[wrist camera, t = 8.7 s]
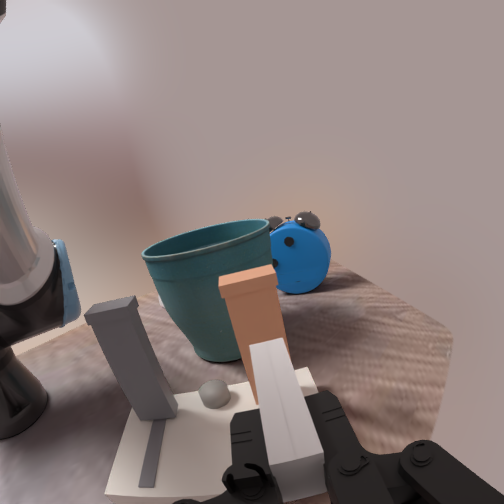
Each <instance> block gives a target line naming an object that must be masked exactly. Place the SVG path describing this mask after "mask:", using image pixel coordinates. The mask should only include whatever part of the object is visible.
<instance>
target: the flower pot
mask: <svg viewBox="0 0 504 504" xmlns="http://www.w3.org/2000/svg"><path fill="white" fill-rule="evenodd" d="M269 228H270V223H269V221H268V220H265V219H247V220H238V221H232V222H227V223H221V224H216V225H212V226H208V227H204V228H200V229H196V230H192V231H189V232H186V233H182V234H179V235H176V236H173V237H171V238H168V239H165V240H163V241H160V242H158V243H156V244H154V245H152V246H150V247H148V248H146V249H145V250H144V251H143V252H142V254H141V255H142V258H143V260H145V262H146V265H147V267H148V270H149V273H150V275H151V277H152V279H153V281H154V284H155V286H156V289H157V291H158V294H159V296H160V298H161V301H162V303H163V305H164V307H165V309H166V310H167V312H168V313H169V315H170V317H171V318H172V320H173V321H174V322H175V324H176V325H177V326H178V327H179V328H180V330H181V331H182V332H183V333H184V334H185V336H186V337H187V338H188V339H189V341H190V342H191V343H192V345H193V347H194V350H195V352H196V354H197V355H198V356H200V357H201V358H203V359H205V360H208V361H214V362H226V361H233V360H237V359H241V358H242V357H241V353H240V350H239V347H238V343H237V340H236V336H235V333H234V330H233V326H232V323H231V319H230V315H229V312H228V308H227V305H226V301H225V298H221V294H220V290H219V287H218V285H219V276H224V275H228V274H232V273H236V272H241V271H245V270H249V269H253V268H257V267H261V266H266V265H270V264H271V265H272V266H273V260H272V252H271V240H270V233H269Z"/></svg>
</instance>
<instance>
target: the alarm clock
mask: <svg viewBox="0 0 504 504" xmlns="http://www.w3.org/2000/svg"><path fill="white" fill-rule="evenodd" d="M286 219H291V217H286ZM265 220H268V221H269V223H270V228H269V232H271V231H272V230H274V231H273V232H271V233H270V240H271V252H272V260H273V268H274V270H275V272H276V275H277V280H278V285H277V286H276V288H277V289H279V290H281V291H284V292H287V293H293V294H299V293H305V292H308V291H311V290H313V289H314V288H316V287H317V286H318V285H319V284H320V283H321V282H322V281H323V280H324V278H325V277H326V274H327V272H328V268H329V263H330V258H331V249H330V244H329V242H328V239H327V237H326V236H325V234H324V233H323V232H322V231H321V230H320V229H319V228H320V220H319V219H318V217H317V216H316V215H315V214H313V213H311V211H310V212H300V213H299V214H297V215H296V216H295V219H294V221H288V222H285V223H283V224H281V225H279V224H280V223H282V222H283V220H282V219H281V218H280V217H276V216H274V217H270V218H268V219H265ZM278 225H279V226H278ZM277 226H278V227H277ZM275 227H277V228H276V229H274V228H275Z"/></svg>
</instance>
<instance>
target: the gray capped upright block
mask: <svg viewBox="0 0 504 504" xmlns="http://www.w3.org/2000/svg"><path fill="white" fill-rule="evenodd" d="M138 306H139V305H138V302H137V299H136V296H135V295H134V296H130V297H125V298H121V299H116V300H112V301H107V302H103V303H98V304H94V305H93V306H92V307H91V308H90V309H89V310H88V311H87V312H86V313H85V314H84V317H85V319H86V322H87V324H88V325H91V326H92V328H93V331H94V333H95V335H96V337H97V340H98V342H99V344H100V346H101V348H102V351H103V353H104V355H105V357H106V359H107V361H108V363H109V365H110V367H111V369H112V371H113V373H114V375H115V377H116V379H117V381H118V383H119V384H120V386H121V388H122V390H123V392H124V394H125V395H126V397H127V399H128V401H129V402H130V404H131V406H132V408H133V409H134V411H135V413H136V414H137V416H138V418H139V419H140V421H144V420H156V419H166V418H175V417H176V415H177V409H178V403H177V401H176V399H175V397H174V395H173V393H172V391H171V389H170V387H169V384H168V382H167V380H166V378H165V376H164V374H163V371H162V369H161V367H160V365H159V362H158V360H157V358H156V355H155V353H154V351H153V348H152V346H151V344H150V341H149V339H148V336H147V334H146V331H145V329H144V326H143V324H142V321H141V318H140V316H139V313H138V310H137V308H138Z"/></svg>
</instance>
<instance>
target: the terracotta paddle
mask: <svg viewBox="0 0 504 504" xmlns="http://www.w3.org/2000/svg"><path fill="white" fill-rule="evenodd" d="M277 285H278V280H277V275H276V272H275V270H274V268H273V266H272V265H271V264H270V265H266V266H261V267H257V268H253V269H249V270H245V271H241V272H236V273H232V274H228V275H224V276H219V285H218V287H219V290H220V294H221V298H225V301H226V305H227V308H228V312H229V315H230V319H231V323H232V326H233V330H234V333H235V336H236V340H237V343H238V347H239V350H240V353H241V357H242V360H243V364H244V367H245V370H246V373H247V377H248V380H249V383H250V386H251V390H252V393H253V396H254V399H255V402H256V405H259V402H258V396H257V390H256V384H255V378H254V372H253V366H252V360H251V353H250V347H249V345H253V344H257V343H261V342H266V341H270V340H274V339H278V338H283V340H284V343H285V346H286V349H287V352H288V354H289V357H290V352H289V347H288V342H287V338H286V333H285V328H284V323H283V318H282V313H281V308H280V304H279V299H278V294H277V289H276V286H277ZM290 360H291V357H290ZM291 363H292V362H291Z"/></svg>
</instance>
